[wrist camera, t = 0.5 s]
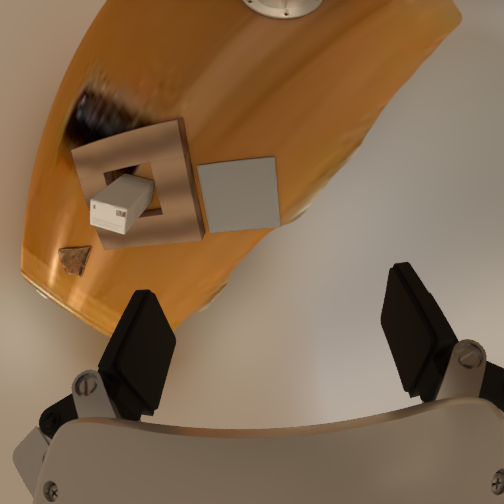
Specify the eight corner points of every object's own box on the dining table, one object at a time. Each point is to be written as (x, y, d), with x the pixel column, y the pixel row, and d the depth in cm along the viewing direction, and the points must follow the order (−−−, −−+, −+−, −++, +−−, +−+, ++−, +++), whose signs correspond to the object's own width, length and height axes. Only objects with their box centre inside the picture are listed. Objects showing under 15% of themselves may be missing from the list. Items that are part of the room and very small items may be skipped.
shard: (93, 244, 51) (89, 248, 50) (105, 273, 55) (101, 278, 54) (59, 246, 52) (55, 250, 51) (71, 273, 56) (67, 277, 55)
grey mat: (197, 165, 42) (196, 166, 41) (274, 156, 41) (274, 157, 40) (210, 231, 48) (210, 232, 48) (280, 225, 47) (280, 226, 47)
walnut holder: (80, 146, 39) (71, 150, 37) (182, 117, 37) (177, 119, 35) (110, 241, 50) (104, 250, 48) (205, 232, 48) (201, 240, 46)
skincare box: (122, 194, 45) (87, 226, 34) (125, 170, 42) (88, 198, 32) (153, 202, 45) (124, 238, 35) (157, 179, 43) (126, 209, 33)
